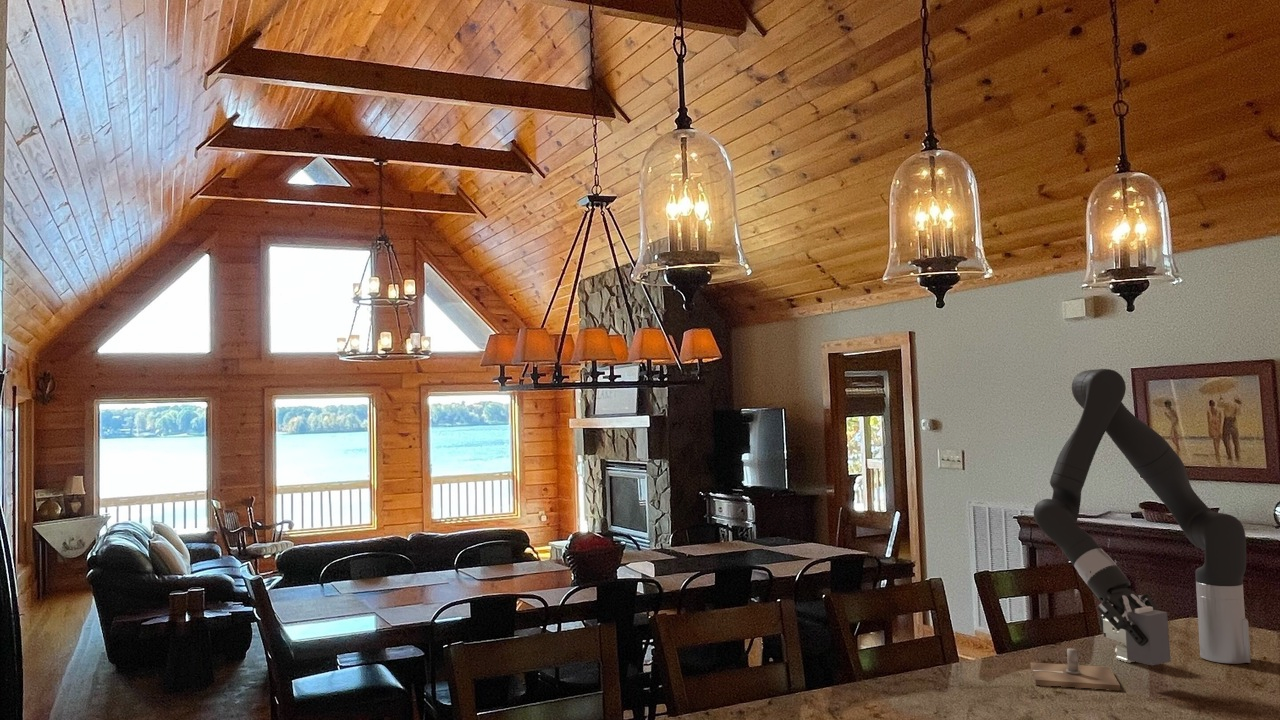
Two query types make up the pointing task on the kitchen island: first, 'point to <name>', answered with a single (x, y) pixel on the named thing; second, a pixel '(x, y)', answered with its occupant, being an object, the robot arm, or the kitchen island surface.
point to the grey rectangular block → (1149, 637)
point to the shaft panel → (1074, 674)
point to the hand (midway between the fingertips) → (1155, 641)
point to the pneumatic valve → (1115, 638)
